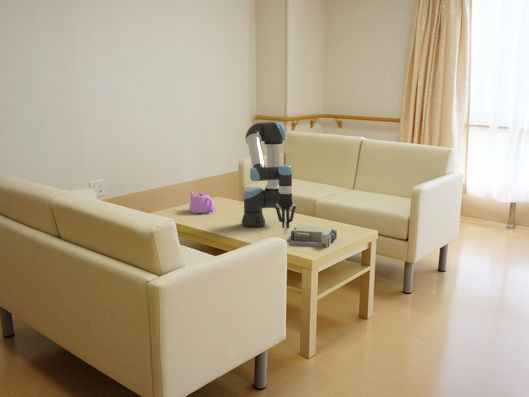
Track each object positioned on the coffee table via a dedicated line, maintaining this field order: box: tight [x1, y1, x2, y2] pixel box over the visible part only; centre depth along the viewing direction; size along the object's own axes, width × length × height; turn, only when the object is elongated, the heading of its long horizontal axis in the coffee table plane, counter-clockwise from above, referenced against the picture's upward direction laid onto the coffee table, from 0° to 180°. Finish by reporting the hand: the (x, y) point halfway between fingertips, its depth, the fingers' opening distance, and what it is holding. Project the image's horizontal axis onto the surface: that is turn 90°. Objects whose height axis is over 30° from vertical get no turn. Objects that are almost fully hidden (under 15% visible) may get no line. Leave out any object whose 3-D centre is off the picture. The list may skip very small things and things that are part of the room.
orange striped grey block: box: [295, 233, 311, 242], centre depth 314 cm, size 8×5×5 cm, turn 72°
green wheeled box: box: [290, 225, 338, 248], centre depth 318 cm, size 24×20×7 cm
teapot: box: [189, 190, 216, 214], centre depth 396 cm, size 25×18×14 cm
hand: (285, 233), depth 316 cm, fingers closed
